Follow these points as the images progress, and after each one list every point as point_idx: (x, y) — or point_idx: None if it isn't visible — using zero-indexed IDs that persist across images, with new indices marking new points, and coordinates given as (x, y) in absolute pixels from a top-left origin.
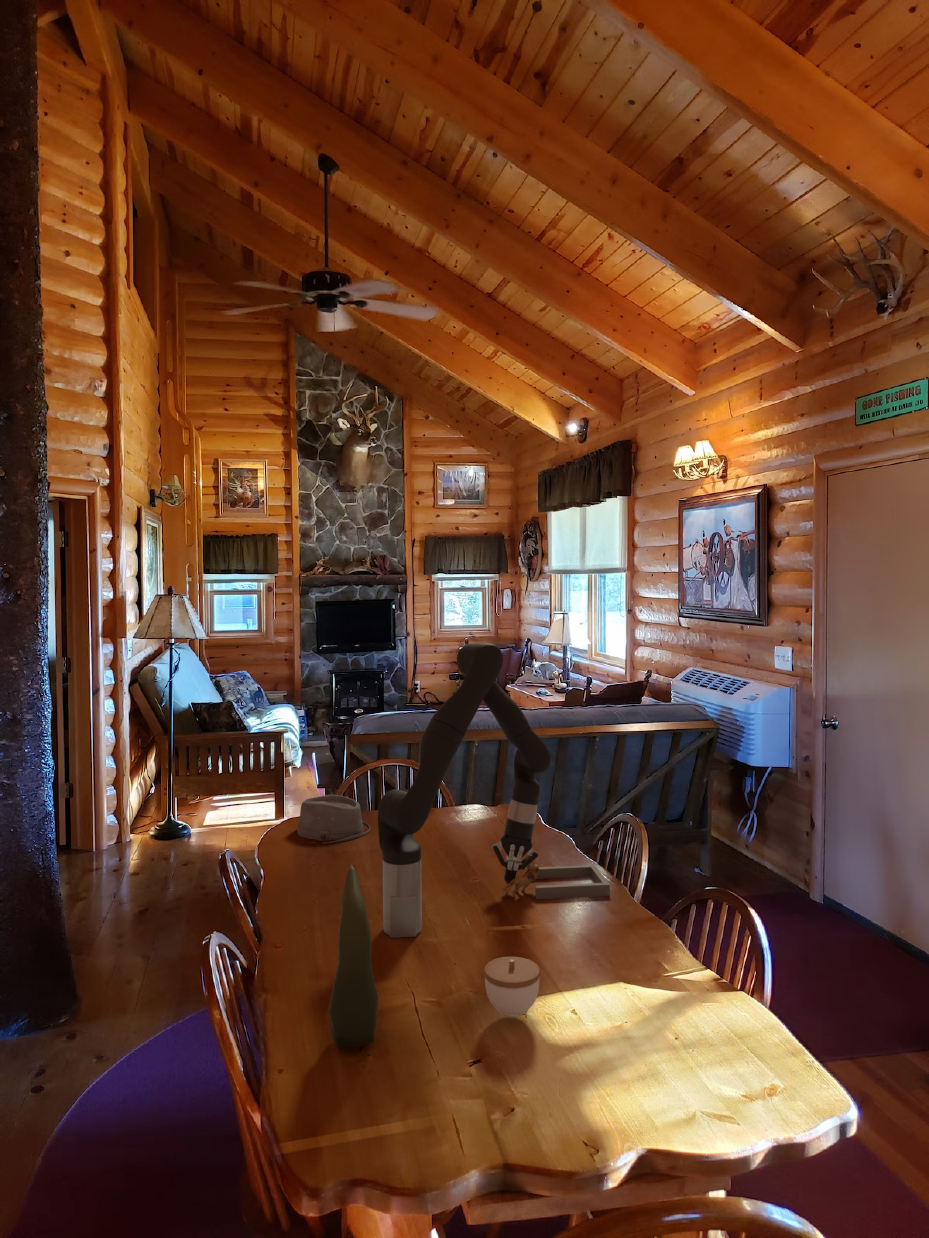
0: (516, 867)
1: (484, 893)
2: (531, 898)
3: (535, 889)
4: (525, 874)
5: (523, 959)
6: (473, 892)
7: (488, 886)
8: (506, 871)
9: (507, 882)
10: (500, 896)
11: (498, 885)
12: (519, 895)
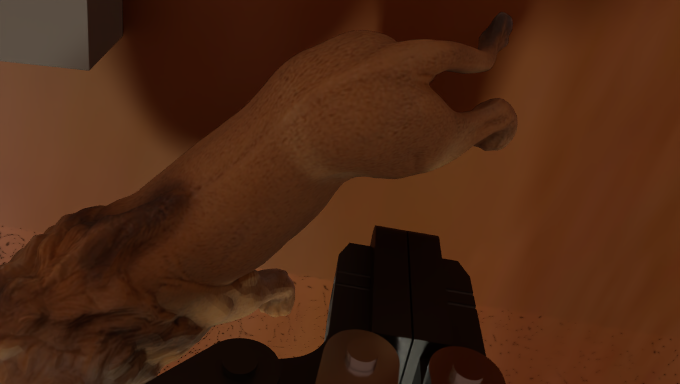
0: (350, 368)
1: (583, 228)
2: (180, 7)
3: (102, 52)
4: (196, 283)
5: None
6: (652, 262)
7: (487, 353)
8: (477, 343)
9: (431, 238)
10: None
11: None
12: None
